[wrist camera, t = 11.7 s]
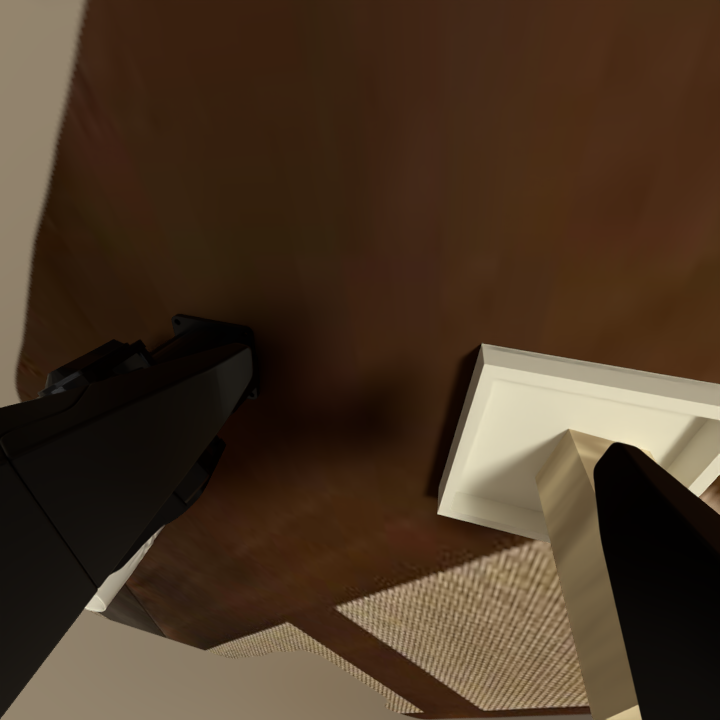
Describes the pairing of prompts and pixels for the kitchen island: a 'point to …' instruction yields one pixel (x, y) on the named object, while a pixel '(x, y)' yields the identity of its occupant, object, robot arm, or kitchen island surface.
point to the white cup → (118, 579)
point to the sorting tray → (552, 420)
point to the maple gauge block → (586, 573)
